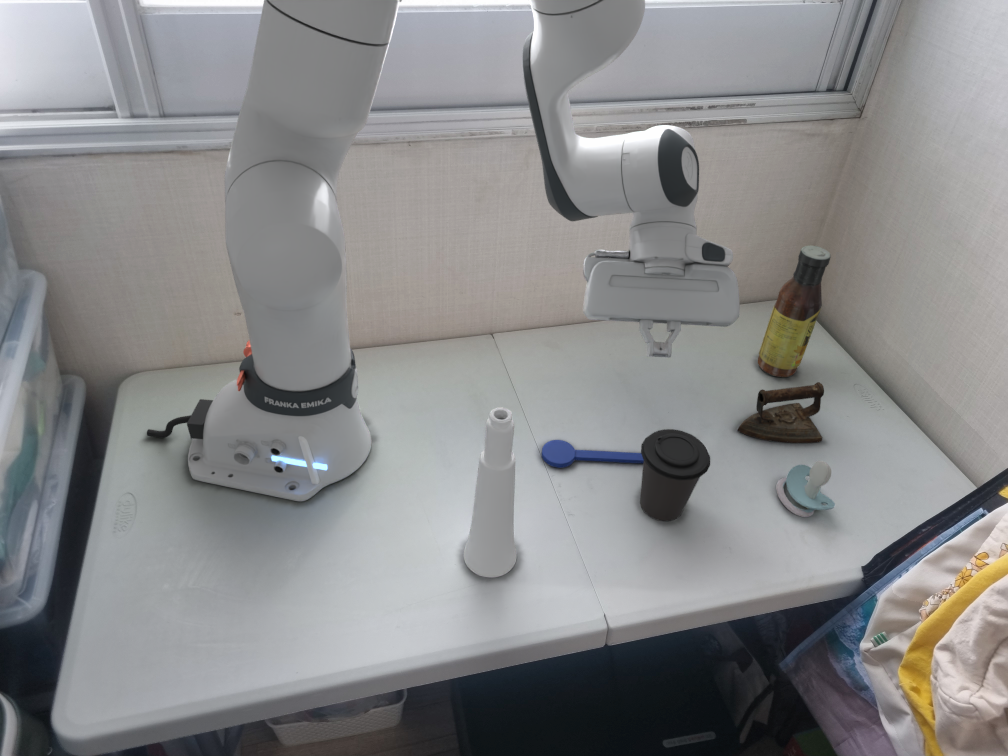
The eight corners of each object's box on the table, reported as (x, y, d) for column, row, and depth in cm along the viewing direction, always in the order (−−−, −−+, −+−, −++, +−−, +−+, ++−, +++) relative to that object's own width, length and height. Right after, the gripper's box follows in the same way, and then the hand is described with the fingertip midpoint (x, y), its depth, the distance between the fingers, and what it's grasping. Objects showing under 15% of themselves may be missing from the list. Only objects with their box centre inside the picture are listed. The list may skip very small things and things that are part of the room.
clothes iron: (825, 443, 106) (837, 397, 98) (746, 463, 106) (752, 419, 98) (802, 406, 110) (812, 359, 103) (727, 425, 110) (731, 379, 103)
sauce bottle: (799, 382, 115) (845, 269, 102) (757, 376, 116) (797, 262, 103) (793, 356, 120) (836, 244, 107) (753, 350, 121) (791, 238, 108)
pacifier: (790, 524, 94) (836, 519, 95) (804, 490, 90) (852, 485, 91) (766, 479, 99) (809, 475, 100) (778, 445, 95) (823, 441, 96)
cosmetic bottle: (502, 586, 84) (516, 444, 70) (454, 565, 86) (458, 423, 72) (524, 547, 89) (542, 406, 75) (478, 527, 90) (486, 386, 76)
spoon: (661, 449, 102) (663, 444, 102) (666, 473, 99) (668, 469, 99) (541, 442, 102) (541, 438, 101) (541, 467, 99) (542, 462, 98)
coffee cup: (626, 477, 98) (639, 420, 92) (689, 482, 98) (707, 425, 92) (631, 527, 92) (646, 470, 85) (698, 532, 92) (718, 475, 85)
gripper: (587, 242, 98) (583, 349, 97) (745, 251, 99) (743, 357, 98) (580, 254, 104) (576, 355, 103) (729, 262, 105) (727, 363, 104)
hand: (658, 356), depth 100 cm, fingers closed
